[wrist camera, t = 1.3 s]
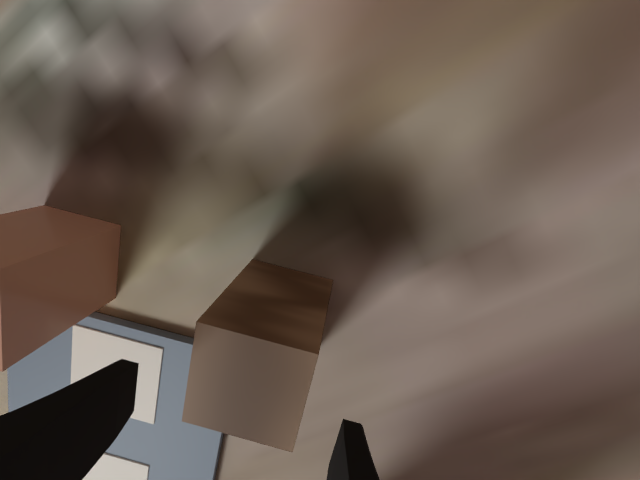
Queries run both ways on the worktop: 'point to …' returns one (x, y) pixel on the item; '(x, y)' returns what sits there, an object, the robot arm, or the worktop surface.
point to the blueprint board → (150, 401)
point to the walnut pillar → (257, 355)
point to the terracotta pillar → (51, 275)
